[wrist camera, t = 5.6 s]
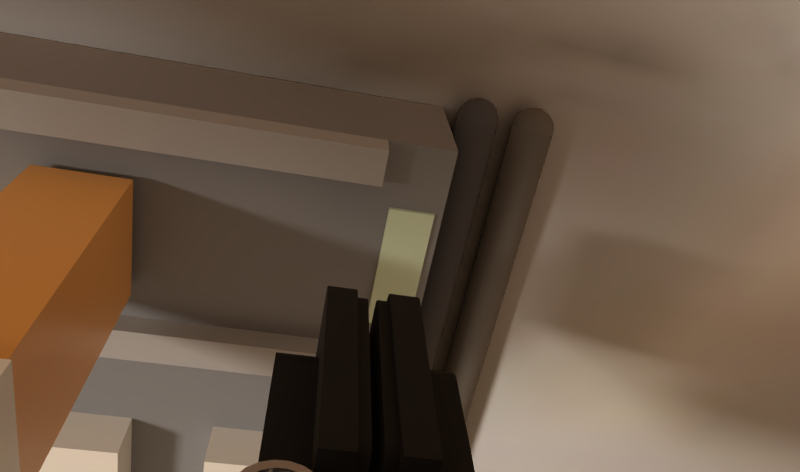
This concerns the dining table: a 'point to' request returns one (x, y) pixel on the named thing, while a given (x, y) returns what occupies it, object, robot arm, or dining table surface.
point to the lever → (56, 298)
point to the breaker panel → (221, 233)
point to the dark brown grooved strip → (497, 238)
